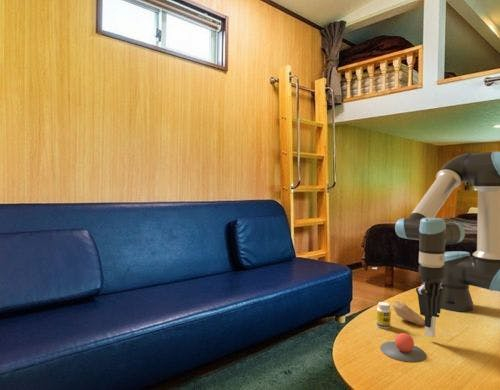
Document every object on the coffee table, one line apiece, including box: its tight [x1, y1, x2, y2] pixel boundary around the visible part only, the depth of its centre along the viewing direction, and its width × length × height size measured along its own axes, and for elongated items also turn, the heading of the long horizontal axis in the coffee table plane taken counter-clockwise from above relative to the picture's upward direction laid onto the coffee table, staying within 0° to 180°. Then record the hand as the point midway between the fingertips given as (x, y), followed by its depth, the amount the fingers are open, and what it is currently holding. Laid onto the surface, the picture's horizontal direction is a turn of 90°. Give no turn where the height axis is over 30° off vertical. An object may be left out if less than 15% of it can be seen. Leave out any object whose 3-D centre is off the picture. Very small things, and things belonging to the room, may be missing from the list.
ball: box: [394, 332, 415, 352], centre depth 109 cm, size 6×6×6 cm
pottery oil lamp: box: [391, 300, 425, 326], centre depth 133 cm, size 9×12×7 cm
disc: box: [379, 341, 427, 363], centre depth 109 cm, size 13×13×1 cm
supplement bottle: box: [376, 301, 392, 330], centre depth 129 cm, size 5×5×8 cm
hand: (429, 335), depth 116 cm, fingers closed
